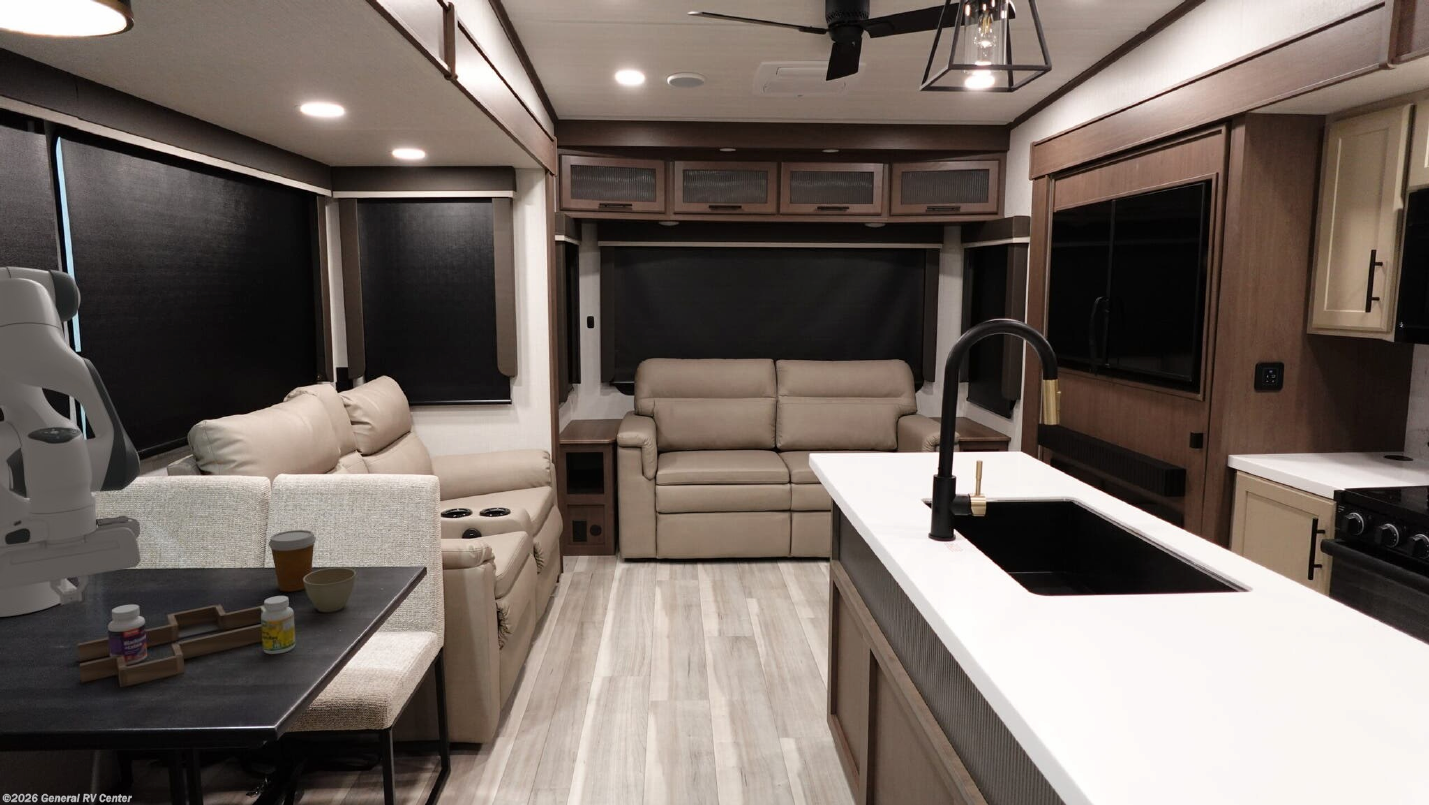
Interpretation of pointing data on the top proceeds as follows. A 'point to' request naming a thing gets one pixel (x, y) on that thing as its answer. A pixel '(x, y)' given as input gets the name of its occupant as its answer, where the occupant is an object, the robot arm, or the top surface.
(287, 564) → the disposable coffee cup
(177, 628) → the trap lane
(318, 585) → the flower pot
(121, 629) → the pill bottle
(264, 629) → the supplement bottle
